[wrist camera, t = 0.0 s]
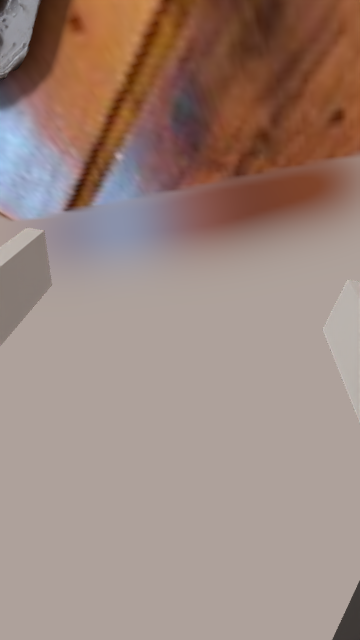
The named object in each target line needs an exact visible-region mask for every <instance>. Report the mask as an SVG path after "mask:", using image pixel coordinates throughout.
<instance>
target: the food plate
mask: <svg viewBox="0 0 360 640" xmlns="http://www.w3.org/2000/svg"><path fill="white" fill-rule="evenodd" d="M40 1H41V0H0V80H2V79H5V78H6V77H7V73H8V72H9V71H11V70H13V71H14V70H17V69H18V68H19V67H20V65H21V63H22V62H23V60H24V58H25V56H26V55H27V52H28V50H29V48H30V47H28V44H29V42H30V40H31V37H32V33H33V31H32V30H33V27H34V23H35V19H36V17H37V13H38V9H39V6H40ZM27 49H28V50H27ZM26 51H27V52H26Z"/></svg>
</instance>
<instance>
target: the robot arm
mask: <svg viewBox="0 0 360 640" xmlns="http://www.w3.org/2000/svg"><path fill="white" fill-rule="evenodd" d="M51 286H52V283H51V275H50V268H49V261H48V254H47V246H46V239H45V232H44V230H38V229H32V228H26V229H24V230H23V231H22V232H20V233H19V234H18V235H16V236H15V237H14V238H12V239H11V240H9V241H8V242H7V243H6V244H4V245H3V246H1V247H0V346H1V345H2V343H3V342H4V341H5V340H6V339H7V338H8V336H9V335H10V334H11V333H12V332H13V330H14V329H15V328H16V327H17V326H18V325H19V323H20V322H21V321H22V320H23V319H24V318H25V316H26V315H27V314H28V313H29V312H30V310H31V309H32V308H33V307H34V306H35V305H36V303H37V302H38V301H39V300H40V299H41V298H42V296H43V295H44V294H45V293H46V292H47V290H48V289H49V288H50V287H51ZM323 332H324V335H325V337H326V340H327V342H328V345H329V347H330V350H331V352H332V355H333V357H334V360H335V363H336V365H337V368H338V370H339V372H340V375H341V378H342V380H343V383H344V385H345V388H346V390H347V393H348V395H349V398H350V400H351V402H352V405H353V408H354V410H355V413H356V415H357V418H358V420H359V423H360V282H359V281H353V280H347V282H346V284H345V286H344V288H343V290H342V292H341V294H340V296H339V298H338V300H337V302H336V304H335V306H334V308H333V310H332V312H331V314H330V316H329V318H328V320H327V322H326V324H325V326H324V328H323ZM333 640H360V581H359V583H358V585H357V588H356V590H355V592H354V594H353V596H352V598H351V601H350V603H349V605H348V607H347V609H346V611H345V614H344V616H343V618H342V620H341V622H340V624H339V626H338V629H337V631H336V633H335V635H334V637H333Z"/></svg>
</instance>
